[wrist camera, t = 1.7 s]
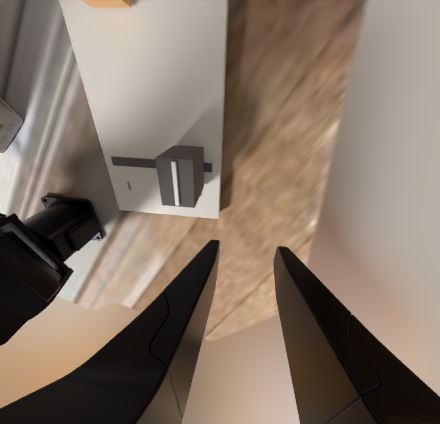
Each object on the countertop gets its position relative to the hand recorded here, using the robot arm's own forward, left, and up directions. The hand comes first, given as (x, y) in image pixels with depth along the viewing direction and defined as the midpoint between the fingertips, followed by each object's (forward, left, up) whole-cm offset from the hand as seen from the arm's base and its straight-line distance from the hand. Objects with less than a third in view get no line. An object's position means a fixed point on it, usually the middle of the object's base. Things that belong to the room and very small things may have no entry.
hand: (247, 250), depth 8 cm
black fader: (-5, 0, -11) cm, 12 cm away
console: (-8, +6, -13) cm, 17 cm away
